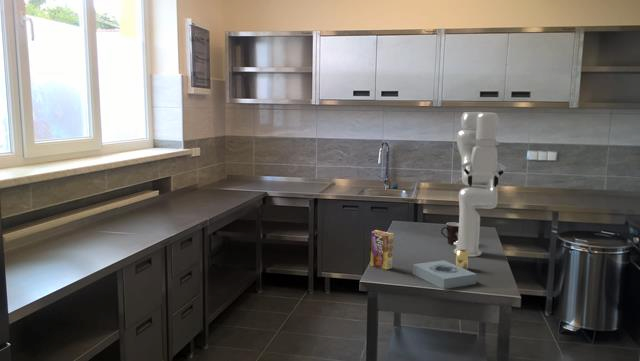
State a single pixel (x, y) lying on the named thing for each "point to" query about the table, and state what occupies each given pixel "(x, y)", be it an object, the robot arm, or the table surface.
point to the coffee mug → (452, 232)
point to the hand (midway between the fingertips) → (482, 186)
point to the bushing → (462, 258)
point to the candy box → (382, 249)
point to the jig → (444, 274)
